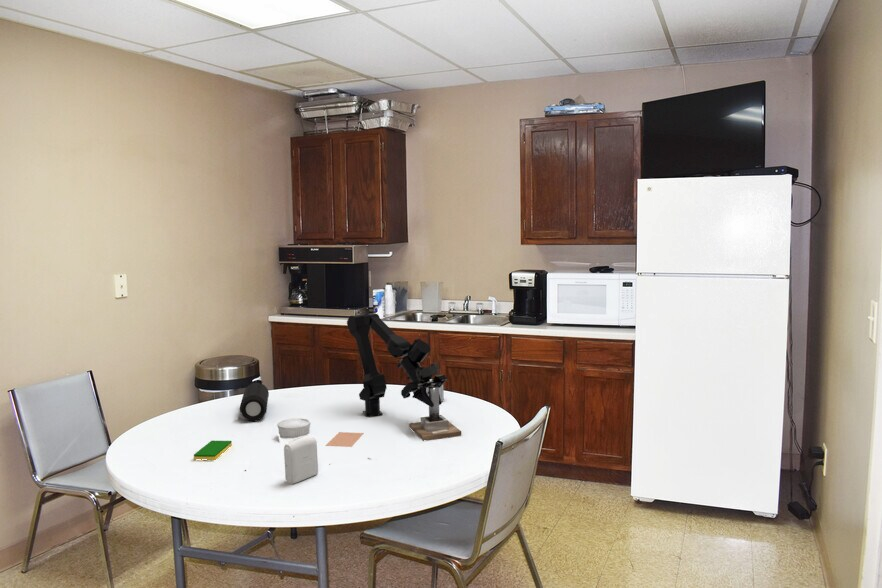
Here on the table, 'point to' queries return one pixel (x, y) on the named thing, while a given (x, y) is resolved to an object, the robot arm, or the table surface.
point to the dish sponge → (212, 450)
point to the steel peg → (434, 403)
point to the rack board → (434, 428)
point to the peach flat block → (344, 439)
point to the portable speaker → (254, 401)
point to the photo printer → (300, 459)
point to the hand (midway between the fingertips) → (436, 405)
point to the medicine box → (439, 392)
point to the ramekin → (293, 427)
